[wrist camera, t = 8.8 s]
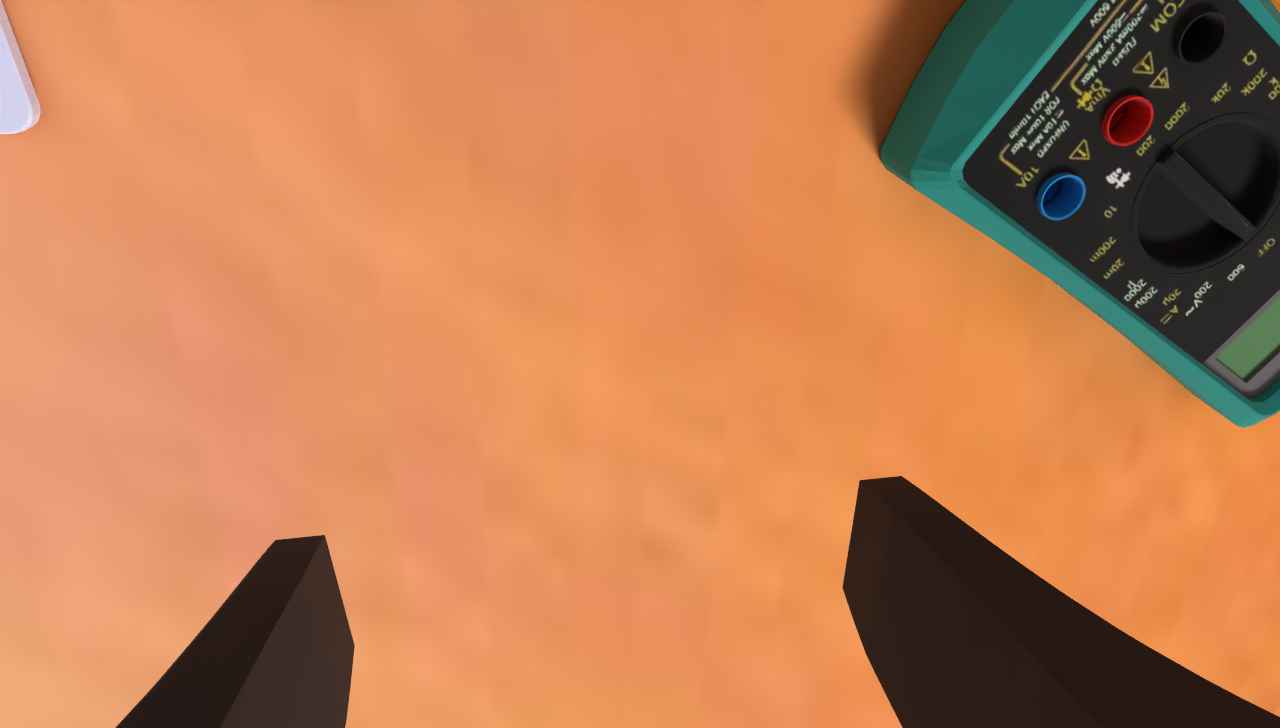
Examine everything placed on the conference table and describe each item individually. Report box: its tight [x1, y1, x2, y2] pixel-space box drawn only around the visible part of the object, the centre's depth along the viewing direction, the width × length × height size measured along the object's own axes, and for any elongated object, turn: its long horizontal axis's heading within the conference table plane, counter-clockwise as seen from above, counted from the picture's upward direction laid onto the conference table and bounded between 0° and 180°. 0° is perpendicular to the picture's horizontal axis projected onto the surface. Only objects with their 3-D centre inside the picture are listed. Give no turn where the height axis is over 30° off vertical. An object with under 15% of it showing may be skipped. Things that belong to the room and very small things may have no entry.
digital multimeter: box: [880, 0, 1280, 427], centre depth 20 cm, size 7×15×3 cm, turn 56°
